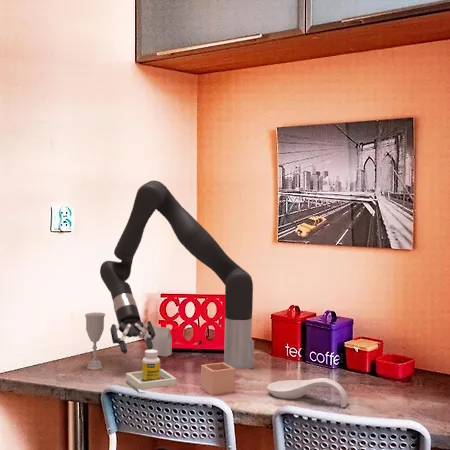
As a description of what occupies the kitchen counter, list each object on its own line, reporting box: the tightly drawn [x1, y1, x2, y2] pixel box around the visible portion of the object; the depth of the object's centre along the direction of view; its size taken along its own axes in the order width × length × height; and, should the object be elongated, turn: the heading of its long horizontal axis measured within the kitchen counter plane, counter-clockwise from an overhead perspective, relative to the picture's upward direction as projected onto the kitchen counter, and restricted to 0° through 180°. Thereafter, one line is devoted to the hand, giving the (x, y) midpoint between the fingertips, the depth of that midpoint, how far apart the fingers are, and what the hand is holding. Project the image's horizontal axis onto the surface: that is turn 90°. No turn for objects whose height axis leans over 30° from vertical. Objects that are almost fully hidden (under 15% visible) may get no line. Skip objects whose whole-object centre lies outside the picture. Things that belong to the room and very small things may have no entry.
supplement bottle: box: [141, 349, 161, 382], centre depth 210 cm, size 5×5×10 cm
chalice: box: [84, 312, 106, 370], centre depth 228 cm, size 7×7×18 cm
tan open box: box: [200, 361, 236, 396], centre depth 203 cm, size 8×8×8 cm
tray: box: [125, 368, 178, 390], centre depth 210 cm, size 12×12×3 cm
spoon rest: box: [267, 377, 349, 408], centre depth 198 cm, size 24×12×7 cm, turn 67°
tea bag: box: [151, 325, 173, 358], centre depth 247 cm, size 4×7×10 cm, turn 62°
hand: (138, 351), depth 220 cm, fingers open, 8 cm apart
